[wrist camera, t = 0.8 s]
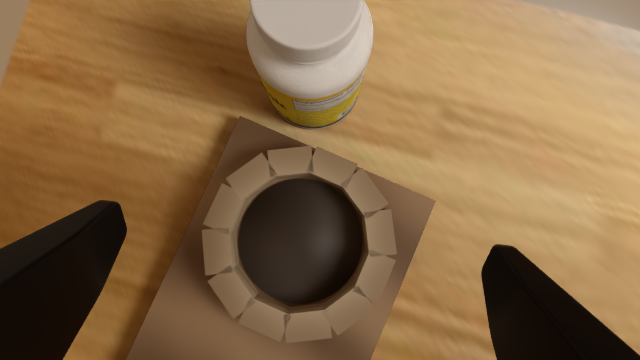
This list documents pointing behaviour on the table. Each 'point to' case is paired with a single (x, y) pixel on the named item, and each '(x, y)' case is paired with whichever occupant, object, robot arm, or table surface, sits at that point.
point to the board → (284, 258)
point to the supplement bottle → (310, 56)
